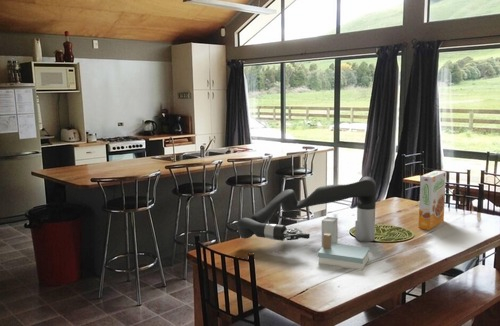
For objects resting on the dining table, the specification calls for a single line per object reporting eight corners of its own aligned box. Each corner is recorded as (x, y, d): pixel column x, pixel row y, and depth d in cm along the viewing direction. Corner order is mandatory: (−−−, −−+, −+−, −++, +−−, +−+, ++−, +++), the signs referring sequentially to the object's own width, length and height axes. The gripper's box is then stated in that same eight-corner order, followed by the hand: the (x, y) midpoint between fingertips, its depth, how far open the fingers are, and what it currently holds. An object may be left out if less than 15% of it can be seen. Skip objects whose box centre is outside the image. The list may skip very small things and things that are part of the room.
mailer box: (318, 263, 207) (318, 254, 207) (327, 253, 220) (327, 244, 219) (362, 270, 199) (362, 260, 198) (368, 259, 211) (369, 250, 211)
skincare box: (332, 250, 224) (332, 221, 221) (320, 248, 227) (321, 220, 224) (337, 245, 231) (338, 217, 228) (326, 243, 234) (326, 216, 231)
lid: (317, 257, 206) (317, 238, 205) (327, 246, 220) (327, 229, 219) (362, 263, 198) (363, 244, 196) (369, 252, 212) (370, 234, 210)
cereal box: (429, 229, 254) (432, 177, 249) (418, 227, 258) (420, 176, 254) (443, 220, 271) (446, 171, 266) (432, 219, 275) (435, 170, 270)
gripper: (270, 228, 216) (304, 232, 209) (280, 221, 228) (313, 224, 220) (270, 243, 217) (304, 248, 210) (280, 235, 229) (313, 239, 221)
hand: (309, 236), depth 215 cm, fingers closed
